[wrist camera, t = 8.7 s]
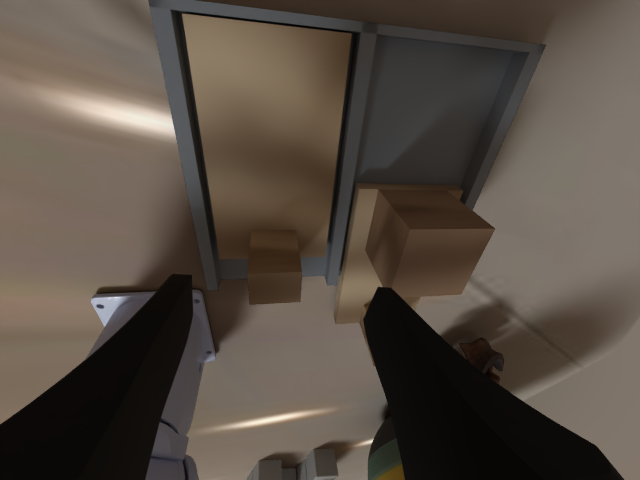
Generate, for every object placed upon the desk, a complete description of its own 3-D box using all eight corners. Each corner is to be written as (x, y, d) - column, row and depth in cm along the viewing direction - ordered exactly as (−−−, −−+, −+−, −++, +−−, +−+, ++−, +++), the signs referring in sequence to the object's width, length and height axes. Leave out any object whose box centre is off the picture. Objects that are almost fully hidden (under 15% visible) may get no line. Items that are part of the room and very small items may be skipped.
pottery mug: (396, 331, 31) (469, 377, 25) (445, 300, 36) (516, 331, 29) (396, 407, 35) (457, 463, 29) (439, 370, 40) (500, 411, 34)
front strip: (323, 248, 21) (336, 299, 17) (221, 251, 20) (208, 306, 16) (347, 34, 14) (382, 27, 10) (187, 15, 13) (143, -3, 8)
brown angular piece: (407, 310, 27) (433, 360, 23) (333, 315, 26) (346, 368, 22) (455, 185, 20) (508, 222, 16) (355, 183, 19) (382, 223, 14)
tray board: (432, 269, 25) (441, 280, 24) (210, 277, 22) (207, 290, 21) (525, 45, 16) (546, 45, 15) (158, -1, 12) (147, -6, 11)
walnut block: (425, 248, 22) (461, 294, 18) (365, 250, 21) (388, 298, 17) (446, 190, 19) (495, 228, 15) (378, 189, 18) (410, 229, 14)
